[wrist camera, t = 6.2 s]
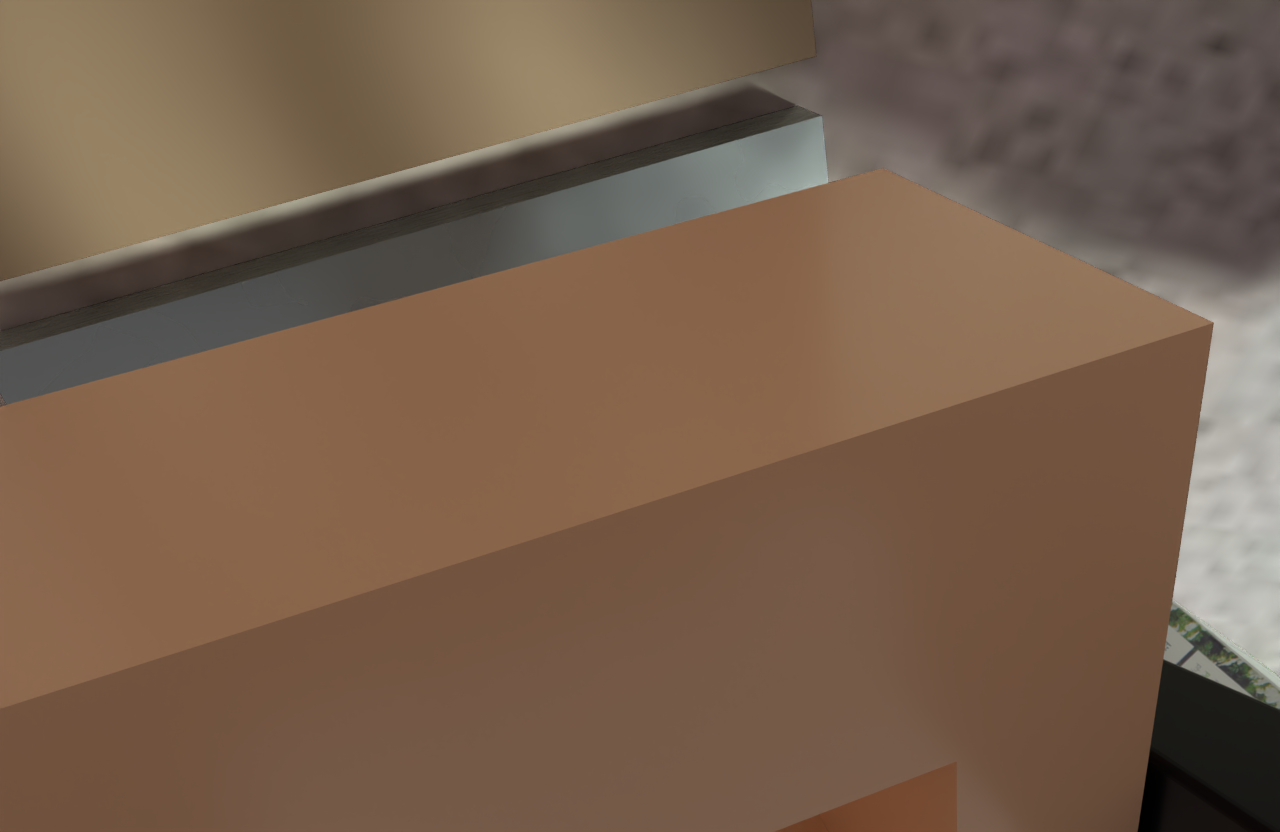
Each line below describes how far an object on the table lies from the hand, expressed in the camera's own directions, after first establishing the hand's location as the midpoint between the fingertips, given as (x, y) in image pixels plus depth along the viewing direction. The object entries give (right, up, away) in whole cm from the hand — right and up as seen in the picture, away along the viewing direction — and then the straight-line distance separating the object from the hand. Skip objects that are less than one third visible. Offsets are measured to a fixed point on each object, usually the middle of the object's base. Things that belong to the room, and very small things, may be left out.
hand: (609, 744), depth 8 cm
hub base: (-2, 0, +12) cm, 12 cm away
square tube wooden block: (0, 0, 0) cm, 0 cm away
